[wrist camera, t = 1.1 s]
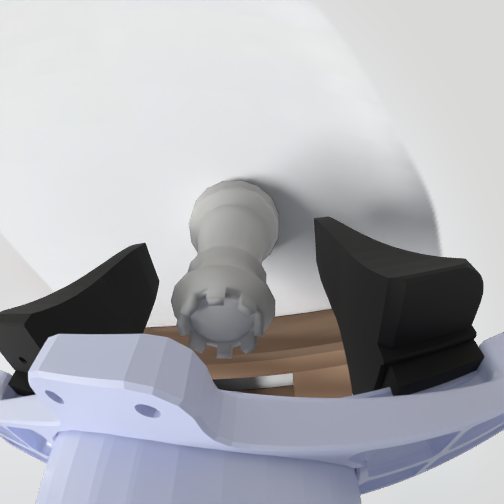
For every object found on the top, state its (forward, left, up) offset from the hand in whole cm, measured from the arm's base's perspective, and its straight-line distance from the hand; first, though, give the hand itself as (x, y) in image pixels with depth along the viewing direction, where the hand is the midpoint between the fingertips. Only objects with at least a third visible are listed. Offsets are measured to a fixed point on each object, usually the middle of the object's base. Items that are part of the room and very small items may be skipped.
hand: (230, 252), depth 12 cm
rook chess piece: (0, 0, -4) cm, 4 cm away
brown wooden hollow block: (-12, +1, -3) cm, 12 cm away
